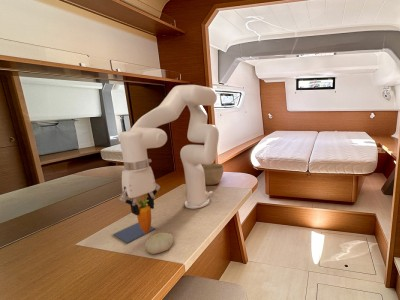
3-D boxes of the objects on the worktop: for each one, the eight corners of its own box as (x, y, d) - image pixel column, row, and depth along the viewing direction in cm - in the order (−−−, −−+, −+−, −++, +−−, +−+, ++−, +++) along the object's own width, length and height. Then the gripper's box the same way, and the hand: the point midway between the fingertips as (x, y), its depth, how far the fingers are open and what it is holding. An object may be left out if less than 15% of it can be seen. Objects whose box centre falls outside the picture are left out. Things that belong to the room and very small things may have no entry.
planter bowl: (208, 177, 155) (207, 162, 152) (228, 179, 150) (227, 164, 147) (194, 185, 140) (192, 169, 137) (216, 188, 135) (215, 171, 132)
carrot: (151, 228, 88) (146, 193, 85) (156, 232, 85) (151, 197, 82) (137, 234, 84) (131, 198, 81) (142, 239, 81) (137, 201, 78)
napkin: (140, 222, 98) (140, 221, 97) (155, 229, 92) (155, 228, 92) (113, 234, 88) (113, 234, 88) (127, 243, 83) (127, 242, 83)
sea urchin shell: (158, 232, 86) (167, 222, 83) (171, 248, 85) (180, 238, 82) (137, 246, 78) (146, 236, 74) (151, 264, 77) (161, 254, 74)
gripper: (153, 158, 88) (159, 200, 91) (104, 169, 73) (113, 218, 77) (164, 160, 84) (170, 204, 88) (115, 173, 70) (124, 224, 73)
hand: (143, 210), depth 82 cm, fingers closed on carrot, 5 cm apart
